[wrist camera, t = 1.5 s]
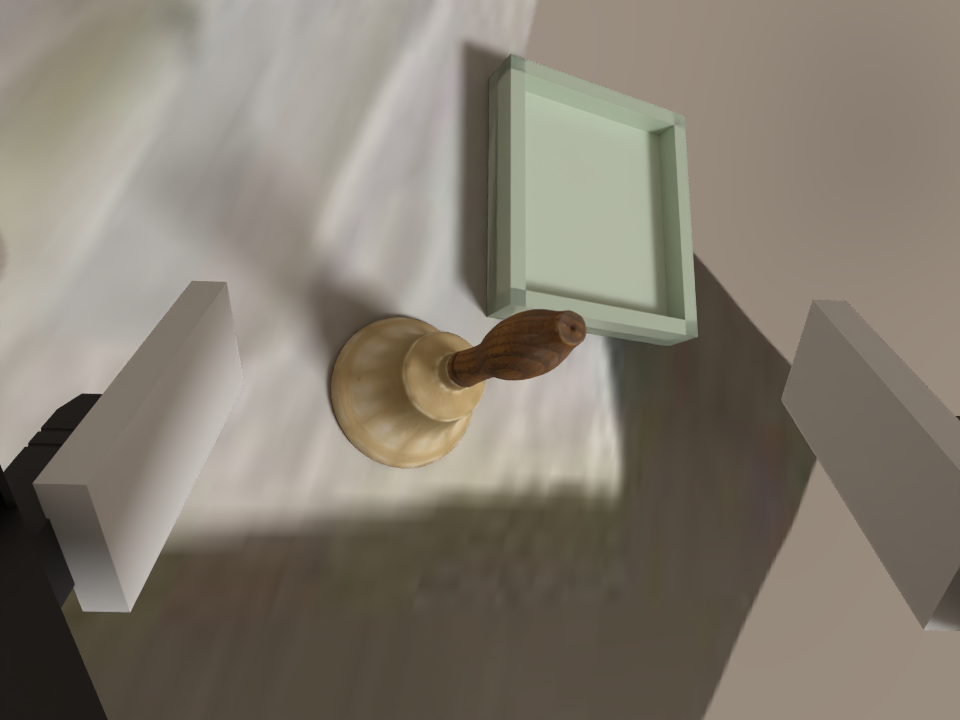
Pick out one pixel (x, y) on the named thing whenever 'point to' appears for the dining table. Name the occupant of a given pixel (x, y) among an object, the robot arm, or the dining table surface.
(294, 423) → the dining table surface
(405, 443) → the hand bell
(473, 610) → the dining table surface
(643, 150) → the tray
